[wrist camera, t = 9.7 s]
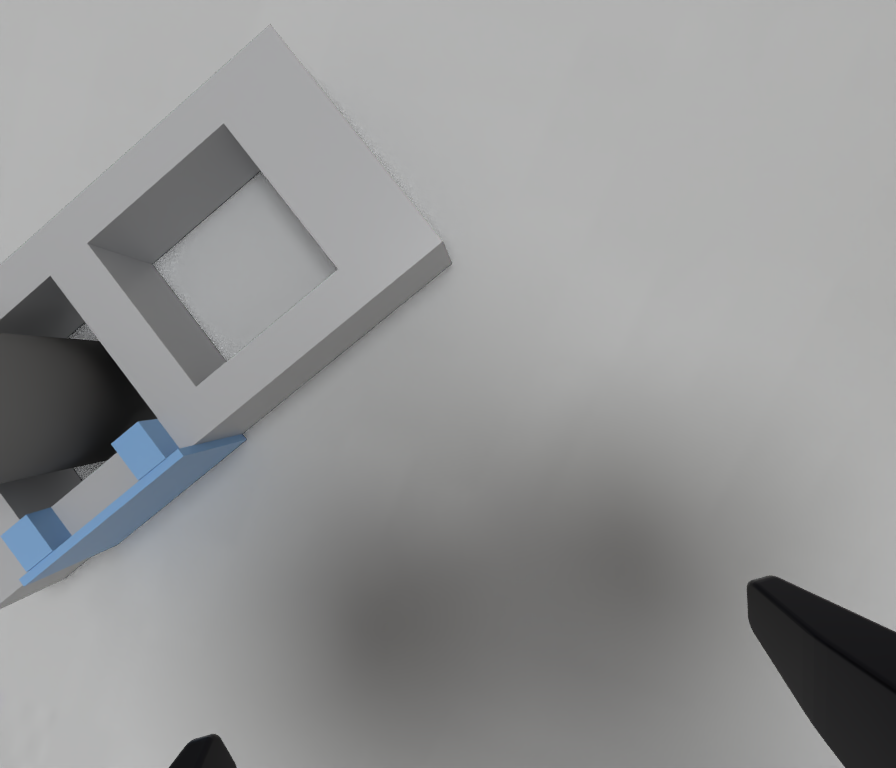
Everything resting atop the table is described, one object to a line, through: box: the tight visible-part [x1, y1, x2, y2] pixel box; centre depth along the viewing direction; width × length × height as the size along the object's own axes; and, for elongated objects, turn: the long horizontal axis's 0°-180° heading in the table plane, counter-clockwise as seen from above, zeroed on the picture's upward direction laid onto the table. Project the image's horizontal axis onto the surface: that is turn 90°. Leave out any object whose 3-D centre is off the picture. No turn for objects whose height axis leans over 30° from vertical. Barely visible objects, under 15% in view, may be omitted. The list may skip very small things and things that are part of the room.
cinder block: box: [0, 24, 452, 609], centre depth 20 cm, size 10×21×4 cm, turn 128°
